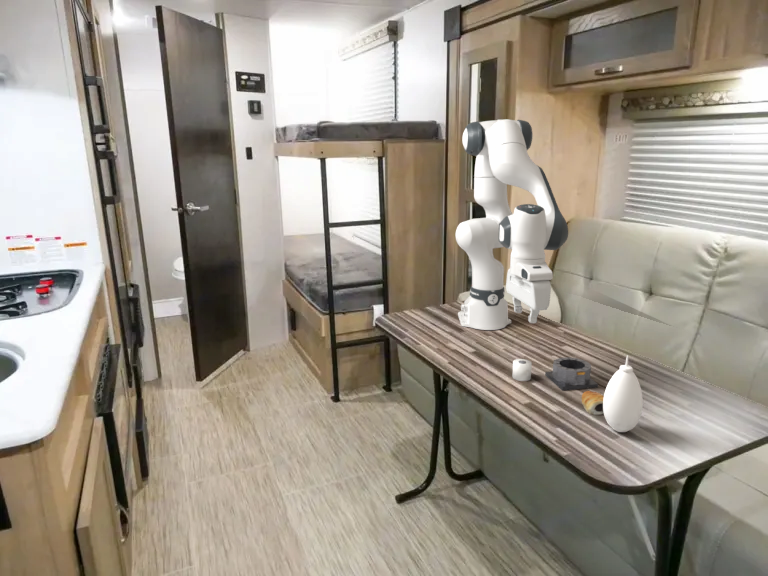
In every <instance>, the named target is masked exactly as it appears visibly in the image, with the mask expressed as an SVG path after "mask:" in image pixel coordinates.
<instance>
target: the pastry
mask: <svg viewBox="0 0 768 576" xmlns="http://www.w3.org/2000/svg"><path fill="white" fill-rule="evenodd" d="M603 398H604V394H602V393H600V392H597V391H591V390H586V391H584V392H583V393H582V394H581V405H582V406H583V408H584V410H585V411H586V413H587V414H589V415H593V416H597V415H598V416H600V415H604V412H603Z"/></svg>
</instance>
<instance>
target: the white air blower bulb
mask: <svg viewBox="0 0 768 576" xmlns="http://www.w3.org/2000/svg"><path fill="white" fill-rule="evenodd" d="M603 396H604V398H603V412H604V414H603V415H604V418H605V421H606V422H607V424H608V426H610V427H611V429H613V430H614V431H616V432H617V433H626V432H628V431H630V430H631V431H632V430H634V429H635V428H636V426H637V425H638V423H639V422H640V419H641V416H642V413H643V407H644V405H643V403H644V400H643V392H642V388H641V384H640V382H639V379H638V376H637V375H636V373H635V371H634V368H633V367H632V366H631V365H629V355H626V358H625V364H620V366H619V369H618V370H616V372H615V373H614V374H613V375H612V377H611V378H610V379H609V381H608V383H607V385H606V388H605V391H604V393H603Z"/></svg>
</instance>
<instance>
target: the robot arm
mask: <svg viewBox="0 0 768 576" xmlns="http://www.w3.org/2000/svg"><path fill="white" fill-rule="evenodd" d="M533 137H534V135H533V128H532V125H531V123H529V121H526V120H522V119H516V120H514V119H507V118H505V119H497V120H495V119H494V120H485V121H474V122H470V123H468V124H466V126H465V128H464V131H463V133H462V137H461V139H462V141H461V143H462V145H463V149H464V152H466V154H467V155H470V156H475V157H476V158H475V164H474V175H473V177H474V178H473V198H474V201H475V202H476V204H478V205H479V206H481V207H482V208H483V210H484V212H485V217H480V218H479V217H478V218H471V219H468V220H464V221H462V222H459V224H458V225H457V227H456V230H455V233H454V235H455V242H456V243H457V245H458V246H459V247H460V248H461V250H463V251H464V252H465V253H466V254H467V256H468V258H469V261H470V265H471V274H472V275H471V286H470V289H469V296H468V297H466V299H465V300H464V302H463V303H461V304H460V311H458V313H457V317H458V319H459V322H460V326H461V327H468V328H471V329H476V330H482V331H484V330H485V331H494V330H495V331H496V330H501V329H504V328H506V327H507V326H508V325H510V324H512V320H511V319H510V318H509V312H508V311H509V310H508V309H509V308H508V301H507V300H506V299H505V293H507V294H509V295H511V296H512V298H511V299H512V303H513V311H514V313H516V314H521V313H523V306H522V303H523V304H524V305H526V306H527V307H529V311H530V312H529V315H528V316H527V320H528V322H529V323H530V324H537V321H538V315H539V314H540V312H541V311H546V310H548V308H549V306H550V301H551V294H552V293H551V291H552V290H551V288H552V286H551V280H553V278H554V277H553V276H554V275H553V271H552V269H551V268H550V267H549V266H548V264H547V262H546V252H545V251H557V250H559V249H560V248H561V247H562V246H563V245H564V244H565V243H566V242H567V240H568V238H569V227H568V223H567V221H566V219H565V217H564V216H563V214H562V212H561V211H560V208H559V206H558V203H557V200H556V198H555V195H554V192H553V190H552V188H551V185H550V182H549V181H548V180H549V179H548V178H547V176H546V173H545V172H544V169H543V168H542V167H541V166H539V165H538V164H536V163H535V162H534V161H533V159H531V157H530V155H529V153H528V150H529V149H530V148H531V146H532V142H533ZM508 185H509V186H512V187H517V188H519V189H522V190H524V191H526V192H529V193H530V194H531V195H532V196H533V197H534V199H535V202H536V204H532V203H527V204H526V203H523V204H519V205H517V206H516V207H514V209H513V212H512V210H511V207H510V205H509V201H508ZM499 248H505V249H508V250H511V251H510V252H511V253H510V259H509V260H510V261H509V262H510V263H509V264H510V265H509V268H508V270H507V273H506V283H505V286H504V276H505V267H504V265H503V263H502V262H501V261H500V260H498V259H496V258H495V257H494V252H493V251H494V250H493V249H499ZM505 289H506V292H505Z"/></svg>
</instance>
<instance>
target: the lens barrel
mask: <svg viewBox="0 0 768 576" xmlns="http://www.w3.org/2000/svg"><path fill="white" fill-rule="evenodd" d="M591 371H592V365H591V363H589V362H588V361H587V360H585V359H581V358H578V357H569V356H568V357H567V356H566V357H559V358H556V359H554V360H553V364H552V370H551V371H545V377H546V378H548V379H549V380H550V381H551V382H552V383H553V384H554V385H555V386H557V387H558V388H559V389H560V390H561V391H572V390H573V391H575V390H583V389H585V390H586V389H596V388H598V387H599V383H597V382H596V381H595V380H594V379H593V378H591Z"/></svg>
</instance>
